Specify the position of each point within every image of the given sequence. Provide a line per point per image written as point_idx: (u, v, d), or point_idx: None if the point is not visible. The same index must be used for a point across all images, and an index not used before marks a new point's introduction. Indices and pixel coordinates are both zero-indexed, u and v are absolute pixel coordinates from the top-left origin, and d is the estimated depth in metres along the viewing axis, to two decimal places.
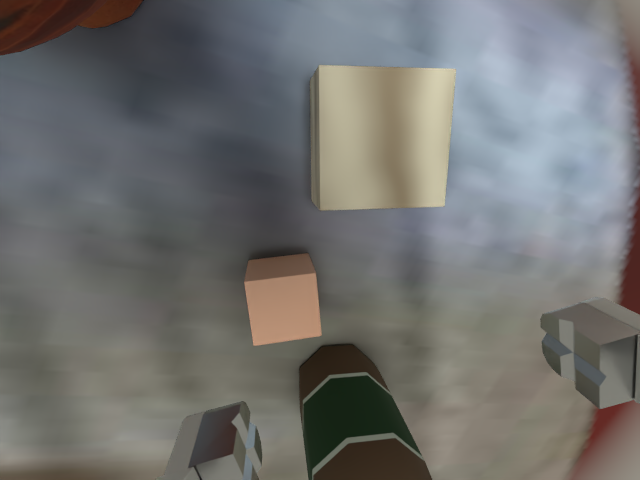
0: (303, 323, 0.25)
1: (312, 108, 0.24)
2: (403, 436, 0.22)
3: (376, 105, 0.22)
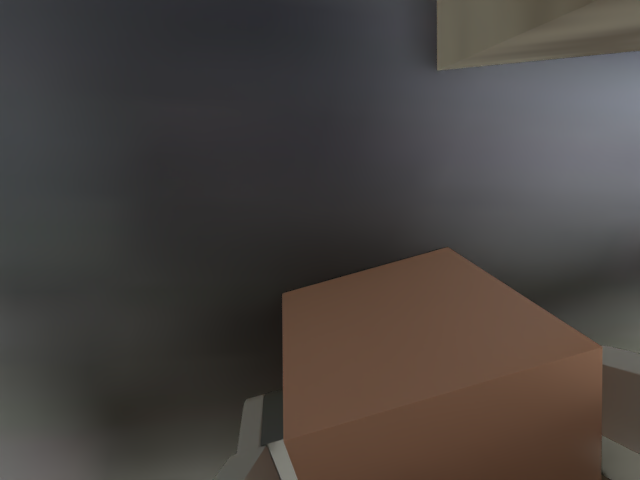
0: None
1: None
2: None
3: None
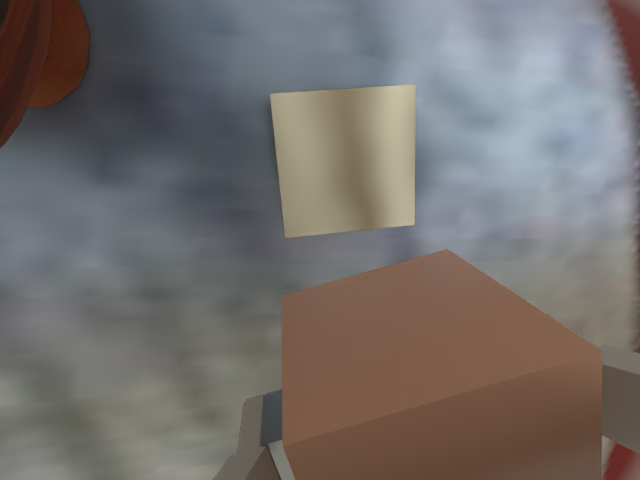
0: None
1: None
2: None
3: (334, 129, 0.21)
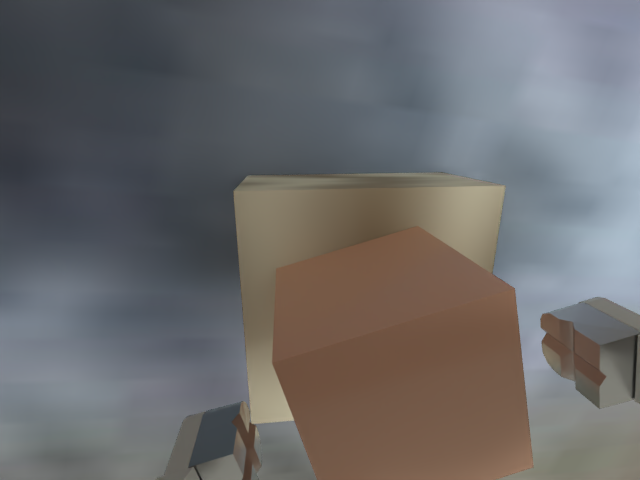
0: (478, 447, 0.08)
1: None
2: None
3: None
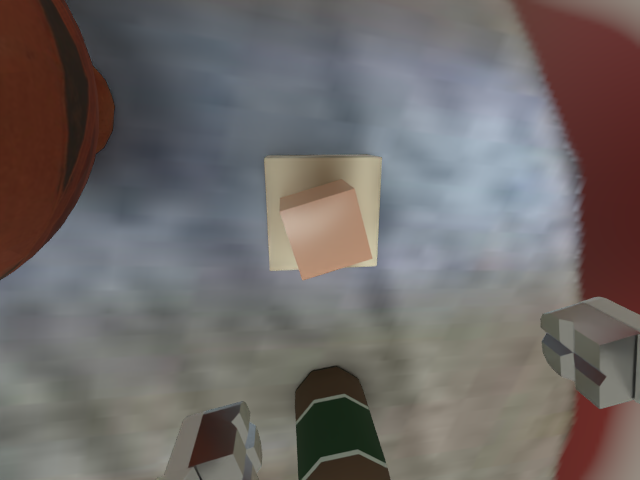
0: (350, 248, 0.23)
1: None
2: (369, 450, 0.28)
3: None
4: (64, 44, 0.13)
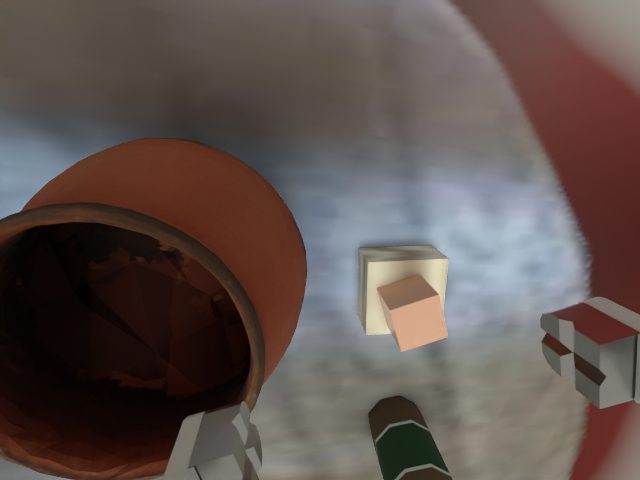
0: (434, 331, 0.34)
1: (361, 268, 0.40)
2: (437, 463, 0.39)
3: None
4: (305, 255, 0.24)
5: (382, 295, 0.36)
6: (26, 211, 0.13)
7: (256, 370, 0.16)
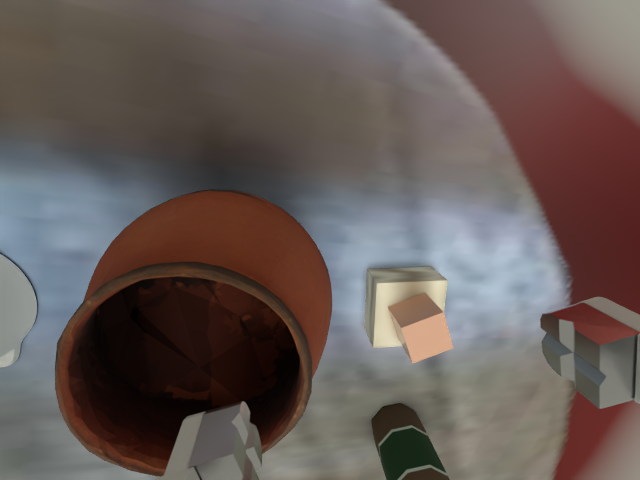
0: (440, 343, 0.38)
1: (369, 287, 0.45)
2: (435, 464, 0.43)
3: (405, 299, 0.42)
4: None
5: (393, 313, 0.40)
6: (142, 268, 0.17)
7: (306, 387, 0.20)
